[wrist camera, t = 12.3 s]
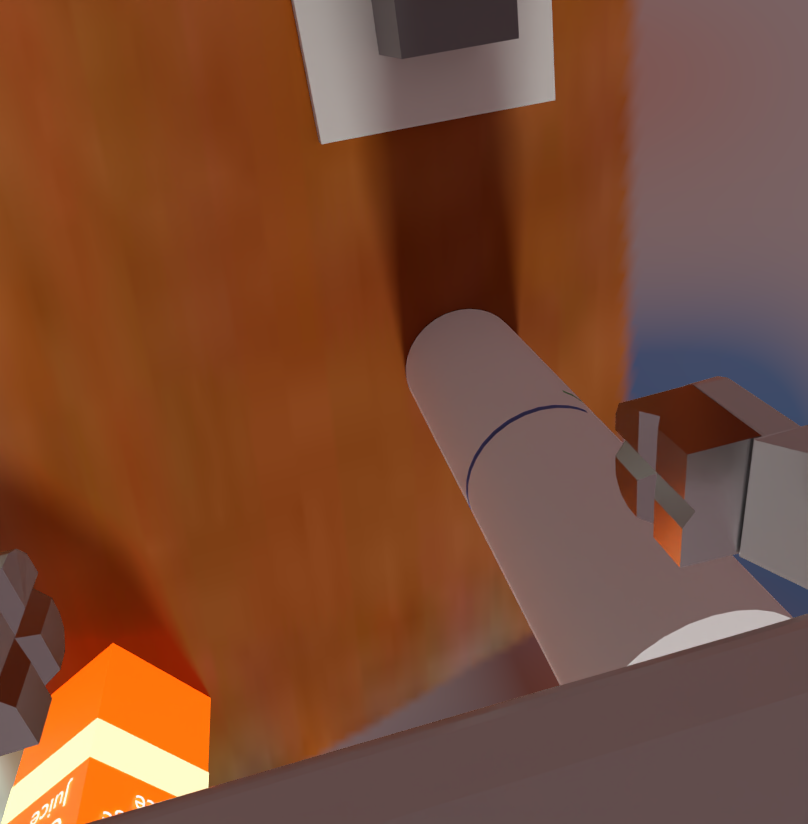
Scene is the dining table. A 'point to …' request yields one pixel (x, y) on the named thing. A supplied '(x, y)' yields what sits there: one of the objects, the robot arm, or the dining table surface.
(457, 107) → the shaft base
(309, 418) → the dining table surface
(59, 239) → the dining table surface
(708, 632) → the cylindrical container
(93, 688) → the orange juice
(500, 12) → the dark grey cube block
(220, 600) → the dining table surface
